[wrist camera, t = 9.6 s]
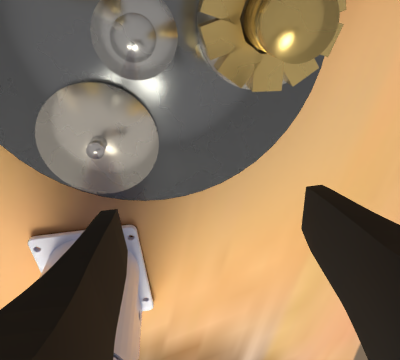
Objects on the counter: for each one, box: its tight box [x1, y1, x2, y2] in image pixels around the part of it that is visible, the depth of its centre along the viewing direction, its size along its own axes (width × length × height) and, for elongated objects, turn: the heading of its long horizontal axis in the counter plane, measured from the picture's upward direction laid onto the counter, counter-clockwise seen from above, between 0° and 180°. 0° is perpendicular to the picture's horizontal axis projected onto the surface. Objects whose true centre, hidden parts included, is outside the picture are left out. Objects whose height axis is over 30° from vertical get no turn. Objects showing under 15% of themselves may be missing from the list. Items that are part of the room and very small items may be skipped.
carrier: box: [0, 0, 324, 201], centre depth 15 cm, size 21×21×5 cm
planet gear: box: [197, 0, 346, 92], centre depth 14 cm, size 7×7×5 cm
